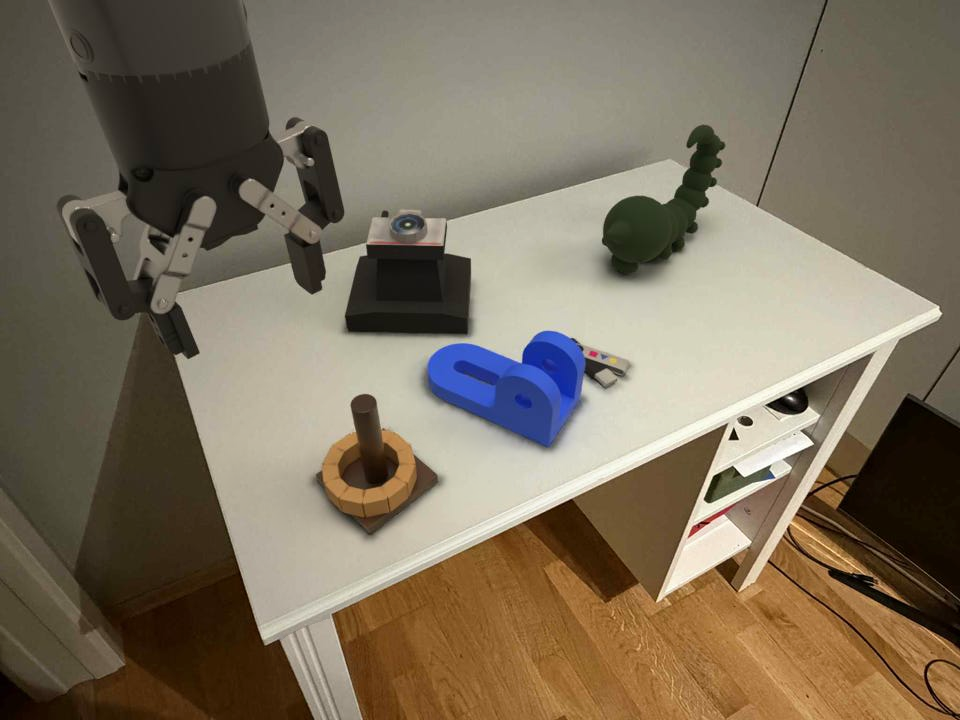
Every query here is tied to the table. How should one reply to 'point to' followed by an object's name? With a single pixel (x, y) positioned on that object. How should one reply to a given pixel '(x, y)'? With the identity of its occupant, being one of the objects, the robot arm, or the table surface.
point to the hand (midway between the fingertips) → (251, 317)
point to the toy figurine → (663, 211)
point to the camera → (409, 279)
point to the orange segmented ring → (374, 498)
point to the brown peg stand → (377, 462)
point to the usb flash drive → (602, 364)
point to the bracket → (513, 383)
